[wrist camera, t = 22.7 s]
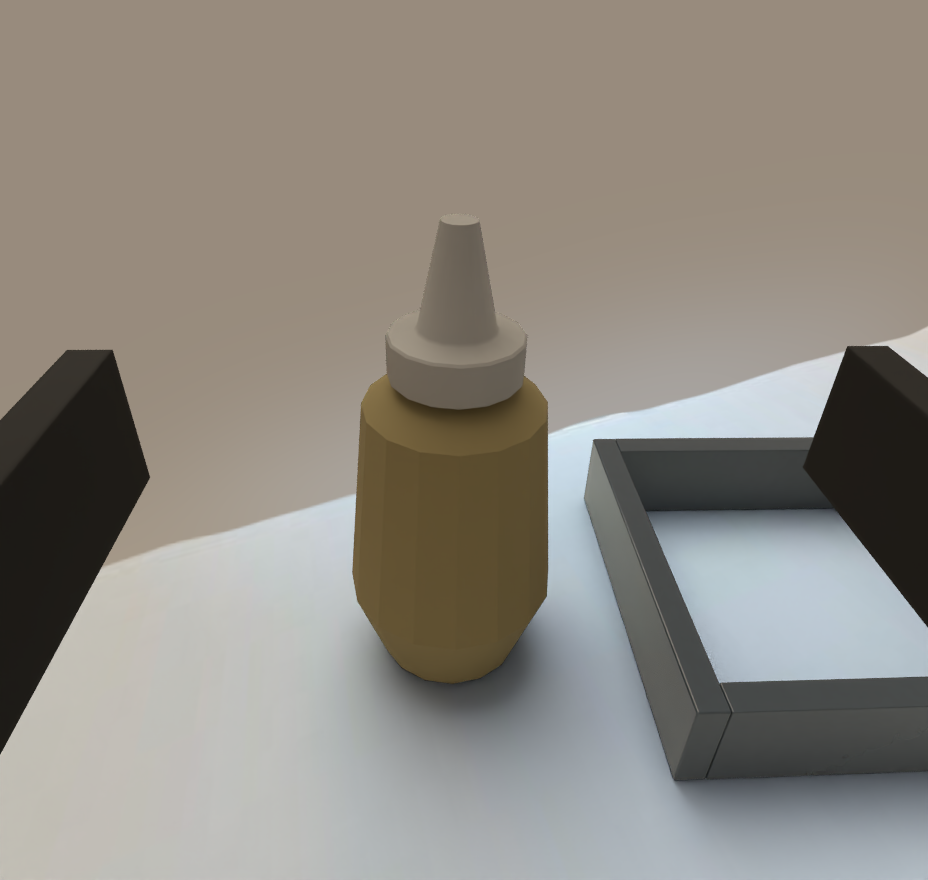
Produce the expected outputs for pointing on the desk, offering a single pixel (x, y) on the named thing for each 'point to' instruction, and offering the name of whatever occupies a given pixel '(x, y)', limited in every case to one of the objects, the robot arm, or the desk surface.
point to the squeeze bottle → (452, 476)
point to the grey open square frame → (679, 646)
